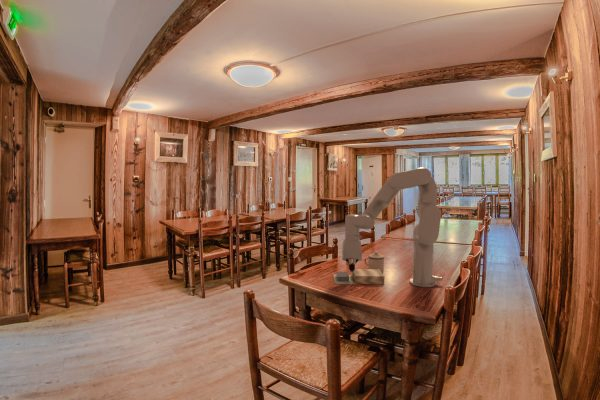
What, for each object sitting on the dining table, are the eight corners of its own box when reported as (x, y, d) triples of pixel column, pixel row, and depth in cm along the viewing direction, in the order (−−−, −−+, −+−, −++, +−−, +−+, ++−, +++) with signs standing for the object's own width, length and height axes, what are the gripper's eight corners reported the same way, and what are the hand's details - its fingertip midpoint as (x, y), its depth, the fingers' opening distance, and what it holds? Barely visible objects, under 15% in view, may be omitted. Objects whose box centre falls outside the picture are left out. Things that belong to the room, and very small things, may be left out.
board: (379, 276, 176) (379, 269, 175) (384, 284, 163) (384, 276, 162) (352, 275, 176) (352, 268, 176) (355, 283, 163) (355, 276, 163)
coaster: (336, 271, 175) (336, 276, 175) (337, 276, 166) (337, 281, 166) (347, 271, 174) (347, 276, 175) (349, 277, 165) (349, 281, 166)
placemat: (351, 275, 177) (351, 274, 177) (354, 284, 162) (354, 283, 162) (333, 275, 178) (333, 274, 178) (335, 284, 163) (335, 283, 163)
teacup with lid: (386, 270, 186) (386, 251, 185) (380, 274, 179) (380, 254, 178) (367, 267, 193) (367, 248, 193) (361, 270, 186) (361, 251, 185)
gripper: (365, 236, 172) (364, 269, 173) (337, 236, 172) (337, 269, 174) (367, 238, 164) (367, 273, 166) (338, 238, 165) (338, 273, 166)
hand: (351, 271), depth 170 cm, fingers closed
